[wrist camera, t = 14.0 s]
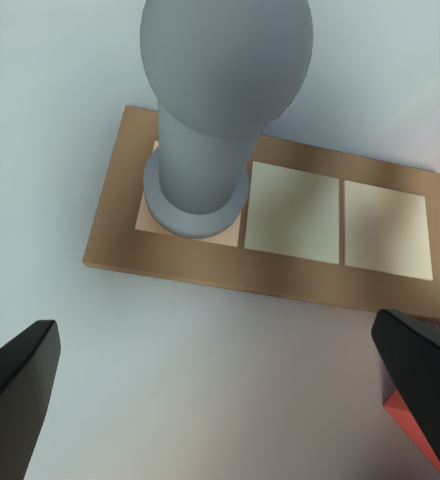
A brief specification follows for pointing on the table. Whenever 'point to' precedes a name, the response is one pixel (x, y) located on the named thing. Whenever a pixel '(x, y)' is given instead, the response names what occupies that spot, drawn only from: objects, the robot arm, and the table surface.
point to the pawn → (216, 100)
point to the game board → (285, 227)
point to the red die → (410, 426)
